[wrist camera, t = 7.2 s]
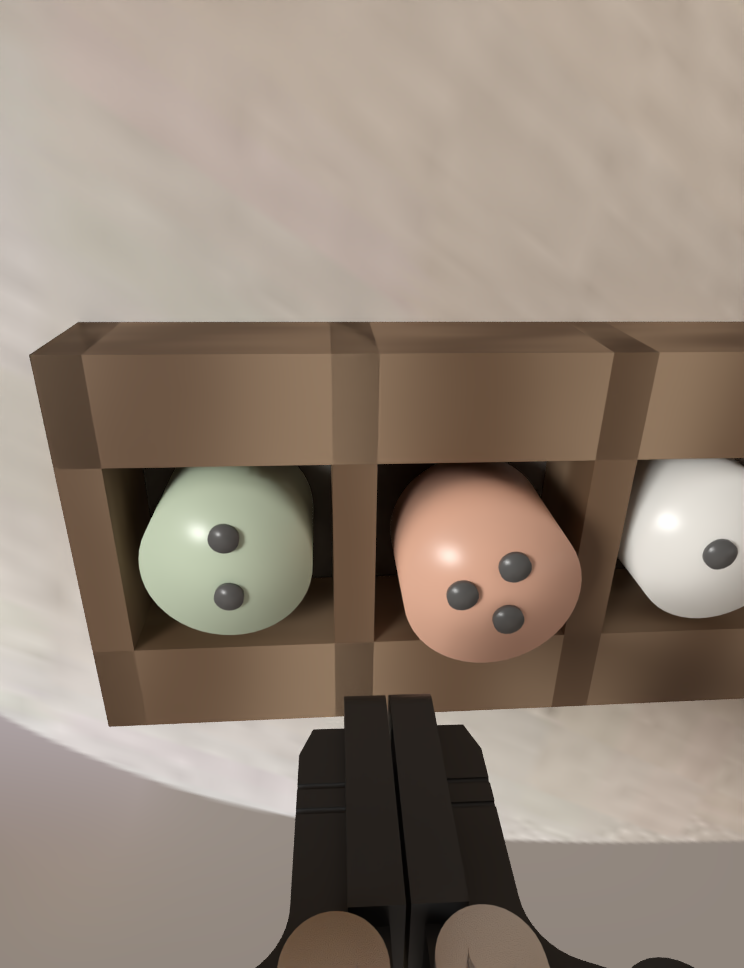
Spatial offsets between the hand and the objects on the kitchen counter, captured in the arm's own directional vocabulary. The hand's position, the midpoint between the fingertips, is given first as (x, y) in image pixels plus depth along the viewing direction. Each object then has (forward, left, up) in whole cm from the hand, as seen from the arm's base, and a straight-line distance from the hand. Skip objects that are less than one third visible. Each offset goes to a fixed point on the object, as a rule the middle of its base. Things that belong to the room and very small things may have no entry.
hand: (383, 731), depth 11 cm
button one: (-9, 0, -8) cm, 12 cm away
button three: (-3, 0, -7) cm, 7 cm away
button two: (+3, 0, -8) cm, 9 cm away
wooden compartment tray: (-3, 0, -8) cm, 9 cm away
